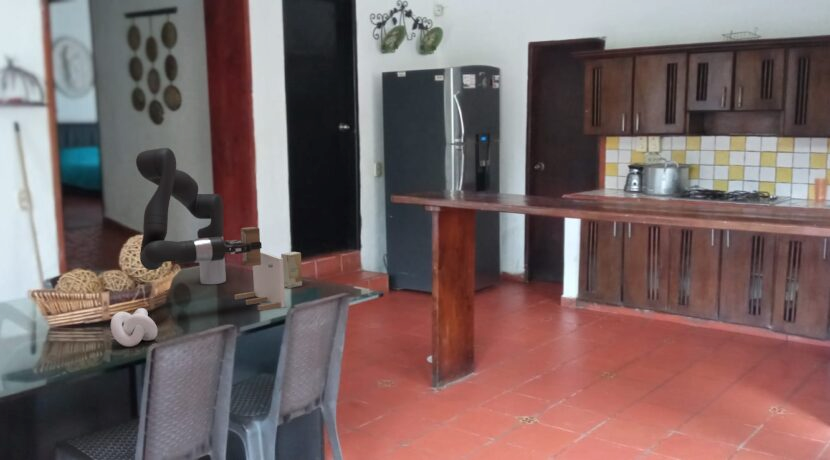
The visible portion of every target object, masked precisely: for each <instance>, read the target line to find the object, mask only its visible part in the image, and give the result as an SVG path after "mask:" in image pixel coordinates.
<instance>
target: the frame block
mask: <svg viewBox="0 0 830 460" xmlns="http://www.w3.org/2000/svg"><path fill="white" fill-rule="evenodd" d="M260 233H261V232H260V228H259V227H257V226H256V227H255V226H250V227H242V228H240V235H241V236H240V239H241V240H240V241H241V242H243V243H253V242H261V237H260ZM245 249H247V246H246V247H245ZM260 251H261V249H254V250H251V252H245V253H241V259H242V265H243V266H245V267H253V266H256V265H261V254H260Z"/></svg>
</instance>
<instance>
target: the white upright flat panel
mask: <svg viewBox="0 0 830 460" xmlns="http://www.w3.org/2000/svg"><path fill="white" fill-rule="evenodd" d="M260 254H261V265H256V266H252V275H253V277H252V278H253V291H249V292H244V293H237V294H234V300H236V301H237V300H242V299H243V300H244V299H245V305H247V306H250V305H255V304H257V311H258V312H260V311H266V310H271V309H278V308H286V296H285V295H286V293H285V287H284V271H283V258H281V257H279V256H276V255H274V254H271V253H269V252H268V253H267V252H264V251H261V250H260ZM255 297H256V298H255ZM248 298H249V299H248ZM267 302H269V303H267ZM262 303H265V304H262ZM259 304H260V305H259Z"/></svg>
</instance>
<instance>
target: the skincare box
mask: <svg viewBox="0 0 830 460" xmlns="http://www.w3.org/2000/svg"><path fill="white" fill-rule="evenodd" d="M280 256H281V257H280V258H283V271H284V288H288V289H292V288H296V287H301V286H303V275H302V274H303V271H302V253H301V252H298V251H291V252H285V253H281V255H280Z"/></svg>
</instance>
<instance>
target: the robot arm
mask: <svg viewBox="0 0 830 460" xmlns="http://www.w3.org/2000/svg"><path fill="white" fill-rule="evenodd" d="M135 165H136V167H137V168H136V169H137V170H138V173H139V174H140V175H141V176H142V178H144V179H145V180H147V181H149V182H150V183H153V184H154V185H156V186H158V187H157V189H156V190H155V192H154V194H153V195H152V197H151V198H150V200H149V201H148V203H147V205H146V207H145V210H144V213H143V214H144V215H143V225H142V226H143V227H142V230H143V235H142V240H141V245H140V254H139V260H140V263H141V265H142V266H143V268H145V269H146V270H148V271H155V270H158V269H159V268H161V267H162V266H163V265H164V263H167V262H175V263H176V264H178V265H183V264H185V265H186V264H190V263H191V264H192V263H199V276H200V277H199V278H200V284H202V285H218V284H223V283H225V282H226V281H227V274H226V261H225V255H226V254H229V255H234V254H236V255H239V254H240V255H241V254H242V253H245V252H251V250H254V249H260V250H261V249H262V248H263V247H262V242H261V241H260V242H253V243H243V242H241V240H240V239H232V240H224V203H223V202H224V201H223V198H222V197H221V195H220V194H219V193H199V186H198V183H197V181H196V179H194V178H193V177H192V176H191V175H190V174H188V173H187V172H185V171H183V170H179V169H177V159H176V156H175V153H174V152H173V151H172V149H171V148H169V147H160V148H153V149H147V150H144V151H141V152H139V153H138V155H136V159H135ZM171 197H173V199H175V200H176V201H178V202H179V203H181V205H183V206H184V207H185V208H186V210H187V211H189V213H190V214H191V215H192V216H193V217H194V218H195V219H200V220H201V219H202V220H209V219H210V223H209V224H208V225H207V226H205V227H201V228H199V229H198V230H197V238H196V239H192V240H191V239H190V240H181V241H174V240H165V239H166V237H167V235H168V234H167V233H168V225H169V224H168V222H169V218H168V217H169V206H170V201H171ZM246 246H247V249H245V247H246Z"/></svg>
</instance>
